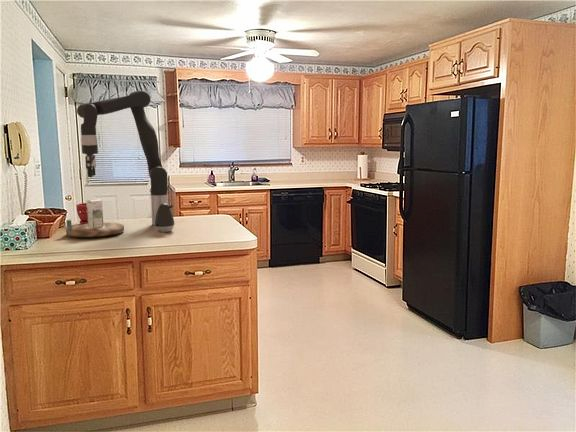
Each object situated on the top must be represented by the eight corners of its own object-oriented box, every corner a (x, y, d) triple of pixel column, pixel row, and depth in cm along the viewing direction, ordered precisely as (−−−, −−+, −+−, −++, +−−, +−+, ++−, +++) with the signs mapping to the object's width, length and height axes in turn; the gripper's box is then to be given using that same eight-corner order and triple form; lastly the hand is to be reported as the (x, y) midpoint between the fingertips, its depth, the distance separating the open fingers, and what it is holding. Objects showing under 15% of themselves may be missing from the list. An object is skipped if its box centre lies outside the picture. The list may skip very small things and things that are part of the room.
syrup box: (98, 225, 249) (96, 198, 246) (104, 227, 245) (102, 199, 243) (87, 227, 245) (85, 199, 242) (93, 228, 241) (91, 200, 238)
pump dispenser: (170, 233, 245) (168, 205, 243) (151, 233, 248) (150, 204, 245) (178, 230, 255) (177, 202, 253) (160, 229, 257) (159, 201, 255)
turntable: (119, 224, 264) (118, 212, 263) (128, 233, 240) (128, 219, 239) (64, 229, 250) (63, 216, 249) (68, 239, 226) (67, 225, 225)
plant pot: (106, 221, 280) (104, 201, 278) (95, 226, 267) (93, 205, 265) (85, 221, 281) (83, 201, 279) (73, 225, 268) (71, 204, 266)
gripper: (84, 144, 244) (86, 175, 246) (78, 144, 230) (81, 177, 233) (99, 144, 245) (101, 175, 248) (95, 144, 232) (97, 177, 234)
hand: (91, 176), depth 240 cm, fingers open, 8 cm apart
